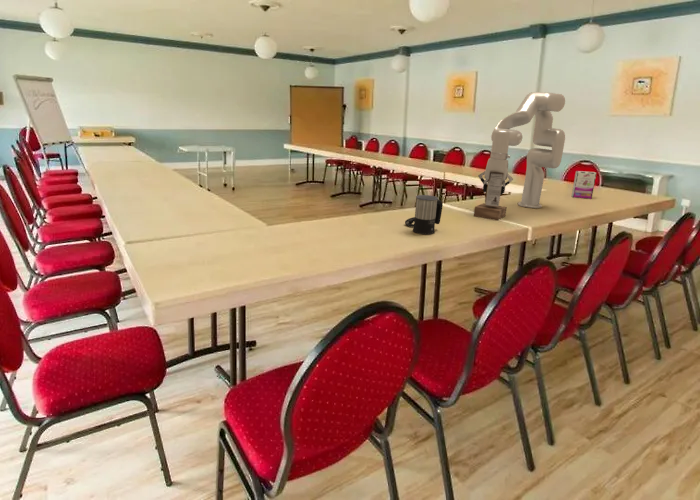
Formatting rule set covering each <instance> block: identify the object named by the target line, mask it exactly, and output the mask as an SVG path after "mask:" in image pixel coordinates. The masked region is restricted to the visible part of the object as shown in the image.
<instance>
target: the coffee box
mask: <svg viewBox="0 0 700 500" xmlns="http://www.w3.org/2000/svg"><path fill="white" fill-rule="evenodd" d="M503 176H504V173H500V172H490V174H489V180H488V182H487V190H486V192H485V196H484V203H485V204H486V205H489V206H500V199H501V195H500V194H501V188H502V182H503Z"/></svg>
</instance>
